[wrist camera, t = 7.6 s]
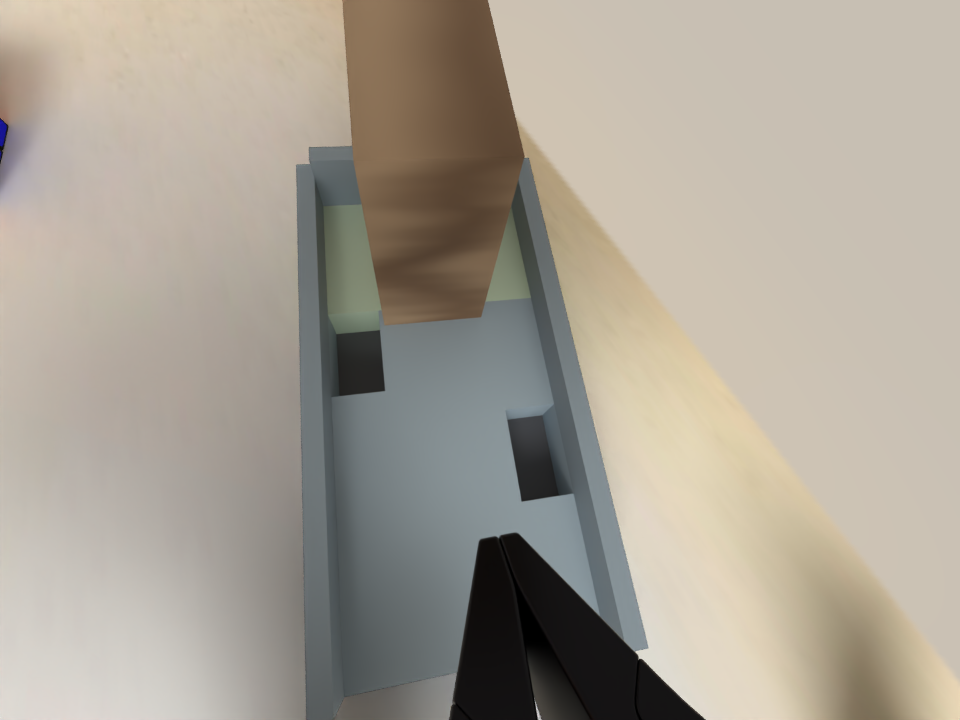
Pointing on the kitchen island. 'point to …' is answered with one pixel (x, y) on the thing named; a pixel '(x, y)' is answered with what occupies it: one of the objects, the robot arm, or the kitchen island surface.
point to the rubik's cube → (2, 136)
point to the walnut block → (431, 151)
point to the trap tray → (435, 449)
